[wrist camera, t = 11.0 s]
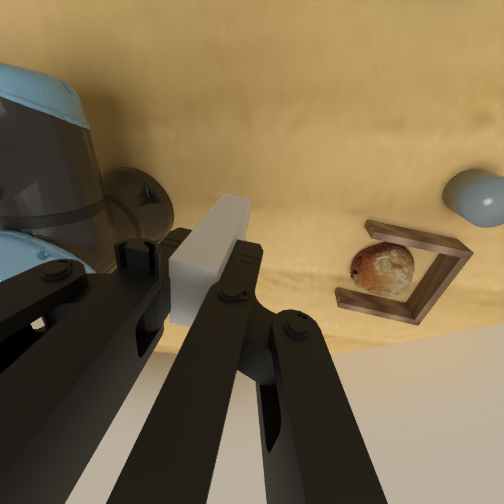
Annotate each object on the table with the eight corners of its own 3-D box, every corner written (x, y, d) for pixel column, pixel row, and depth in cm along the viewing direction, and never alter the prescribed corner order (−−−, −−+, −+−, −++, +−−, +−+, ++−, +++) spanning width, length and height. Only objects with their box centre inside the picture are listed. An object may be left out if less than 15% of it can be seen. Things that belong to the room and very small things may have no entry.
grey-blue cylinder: (433, 205, 39) (456, 222, 34) (458, 164, 36) (487, 175, 30) (474, 214, 39) (503, 232, 33) (502, 173, 36) (540, 186, 30)
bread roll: (391, 272, 51) (426, 294, 44) (347, 291, 49) (376, 316, 42) (391, 230, 46) (430, 246, 39) (343, 249, 45) (374, 269, 38)
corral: (334, 291, 51) (337, 307, 47) (367, 220, 42) (374, 231, 38) (408, 308, 50) (418, 325, 46) (457, 239, 41) (473, 252, 38)
